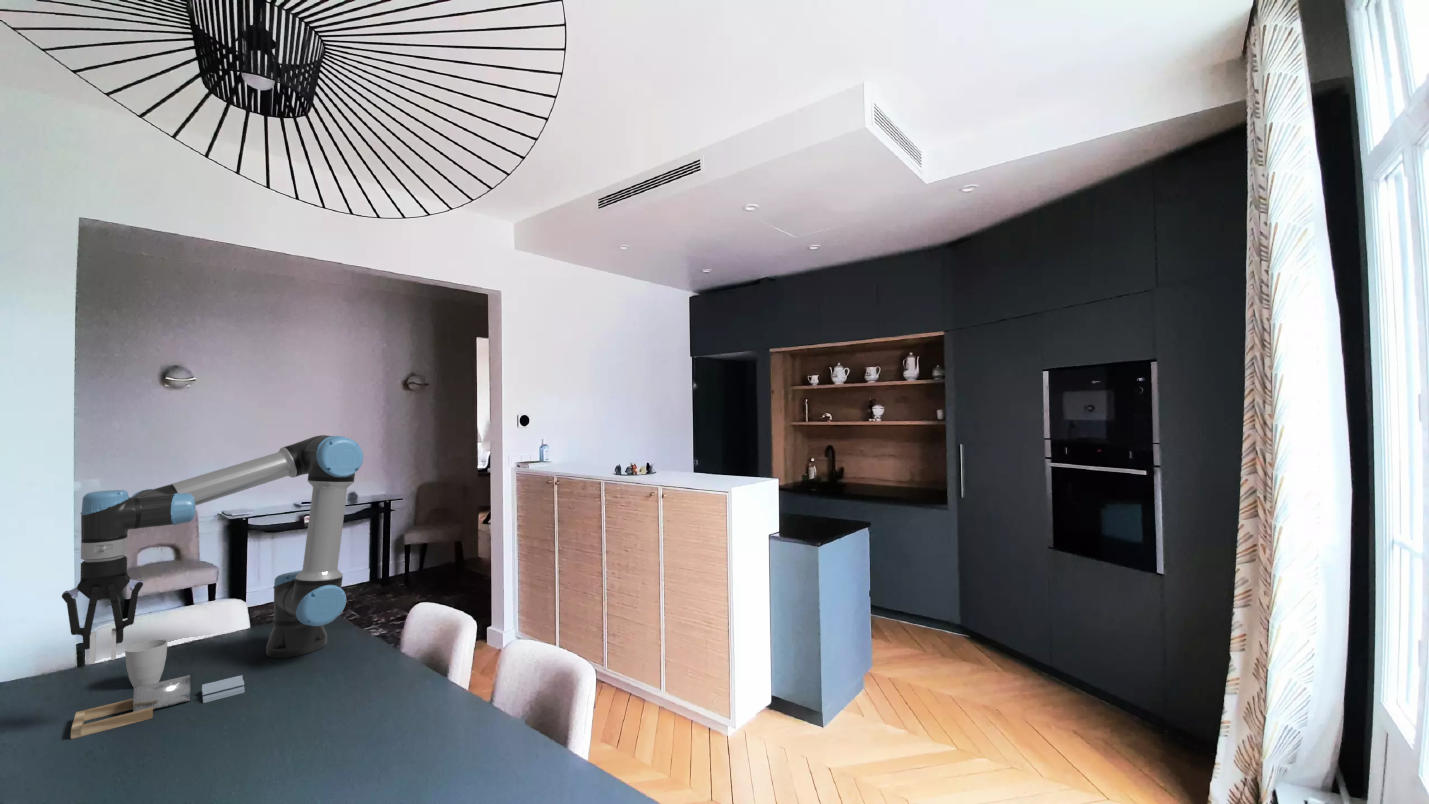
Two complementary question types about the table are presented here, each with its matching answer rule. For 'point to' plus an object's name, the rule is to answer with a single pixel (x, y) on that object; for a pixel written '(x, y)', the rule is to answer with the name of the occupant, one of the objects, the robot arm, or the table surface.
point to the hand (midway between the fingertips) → (103, 659)
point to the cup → (146, 662)
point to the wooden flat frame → (109, 723)
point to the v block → (222, 688)
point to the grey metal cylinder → (162, 694)
